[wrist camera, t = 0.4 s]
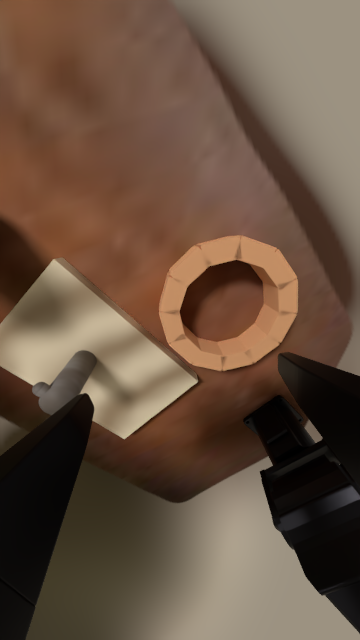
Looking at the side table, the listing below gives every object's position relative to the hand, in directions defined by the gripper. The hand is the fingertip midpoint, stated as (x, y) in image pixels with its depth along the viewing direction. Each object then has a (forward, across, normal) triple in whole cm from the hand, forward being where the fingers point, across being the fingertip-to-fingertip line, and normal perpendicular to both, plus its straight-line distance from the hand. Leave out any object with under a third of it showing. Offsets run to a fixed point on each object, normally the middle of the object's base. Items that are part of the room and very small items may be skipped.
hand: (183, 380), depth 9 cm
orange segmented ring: (+12, -5, +1) cm, 13 cm away
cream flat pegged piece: (+12, +10, +5) cm, 16 cm away
